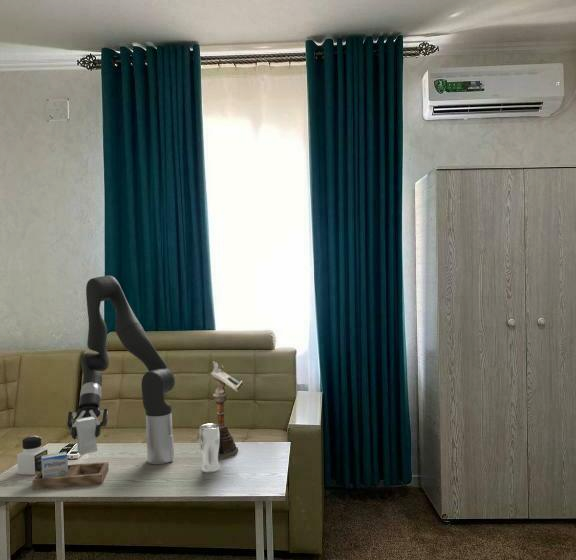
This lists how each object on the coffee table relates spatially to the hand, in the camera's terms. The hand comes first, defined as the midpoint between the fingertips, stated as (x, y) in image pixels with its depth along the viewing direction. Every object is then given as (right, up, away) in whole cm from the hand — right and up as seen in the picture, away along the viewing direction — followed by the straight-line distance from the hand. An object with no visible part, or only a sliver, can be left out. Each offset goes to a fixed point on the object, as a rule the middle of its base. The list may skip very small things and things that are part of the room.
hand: (85, 437), depth 196 cm
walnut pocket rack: (0, -11, -12) cm, 16 cm away
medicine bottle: (-18, -12, -2) cm, 21 cm away
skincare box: (0, -6, +2) cm, 6 cm away
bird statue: (+50, -9, +10) cm, 52 cm away
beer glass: (+46, -9, -7) cm, 47 cm away
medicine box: (-6, -11, -12) cm, 17 cm away
